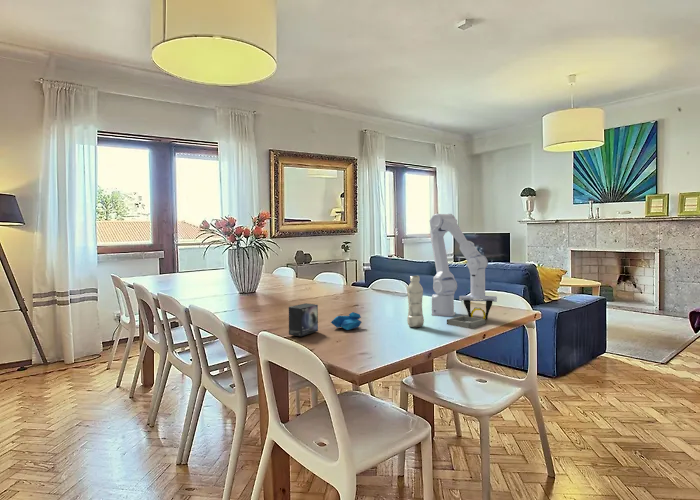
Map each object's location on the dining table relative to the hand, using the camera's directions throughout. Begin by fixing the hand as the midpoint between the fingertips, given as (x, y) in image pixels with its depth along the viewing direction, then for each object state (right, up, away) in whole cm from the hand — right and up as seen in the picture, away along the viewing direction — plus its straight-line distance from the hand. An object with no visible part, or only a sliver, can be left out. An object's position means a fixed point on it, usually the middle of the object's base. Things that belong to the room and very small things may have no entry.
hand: (478, 318), depth 177 cm
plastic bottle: (-26, -2, -7) cm, 27 cm away
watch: (0, -2, 0) cm, 2 cm away
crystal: (-48, 0, -4) cm, 48 cm away
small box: (-69, -4, -13) cm, 71 cm away
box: (-6, -2, -6) cm, 9 cm away
